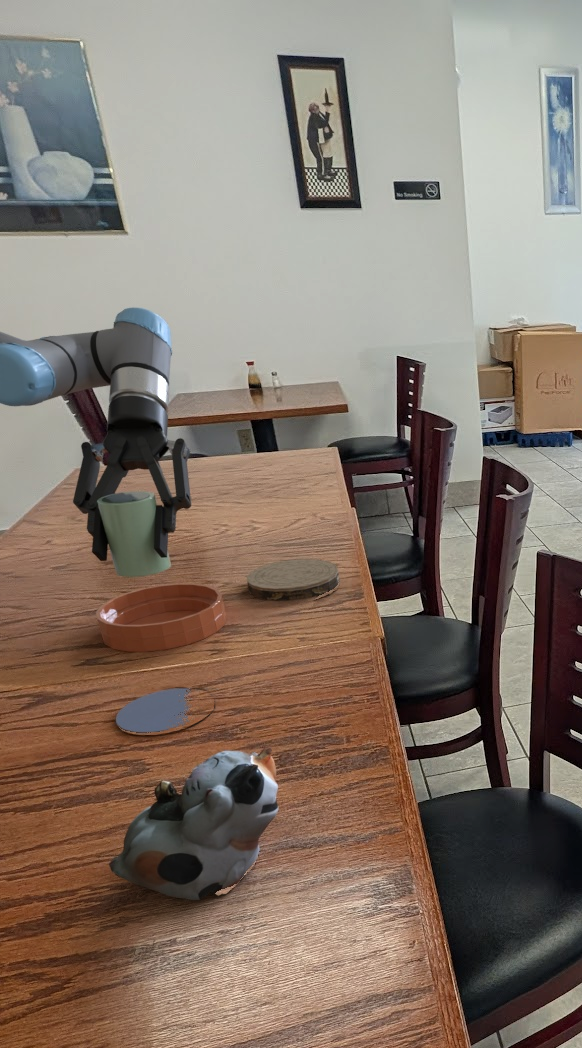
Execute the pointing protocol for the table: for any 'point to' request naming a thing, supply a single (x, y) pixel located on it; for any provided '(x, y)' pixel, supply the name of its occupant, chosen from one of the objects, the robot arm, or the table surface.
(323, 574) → the wood slice
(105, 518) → the cup
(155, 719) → the coaster
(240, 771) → the lucky cat figurine
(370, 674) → the table surface
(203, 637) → the bowl
